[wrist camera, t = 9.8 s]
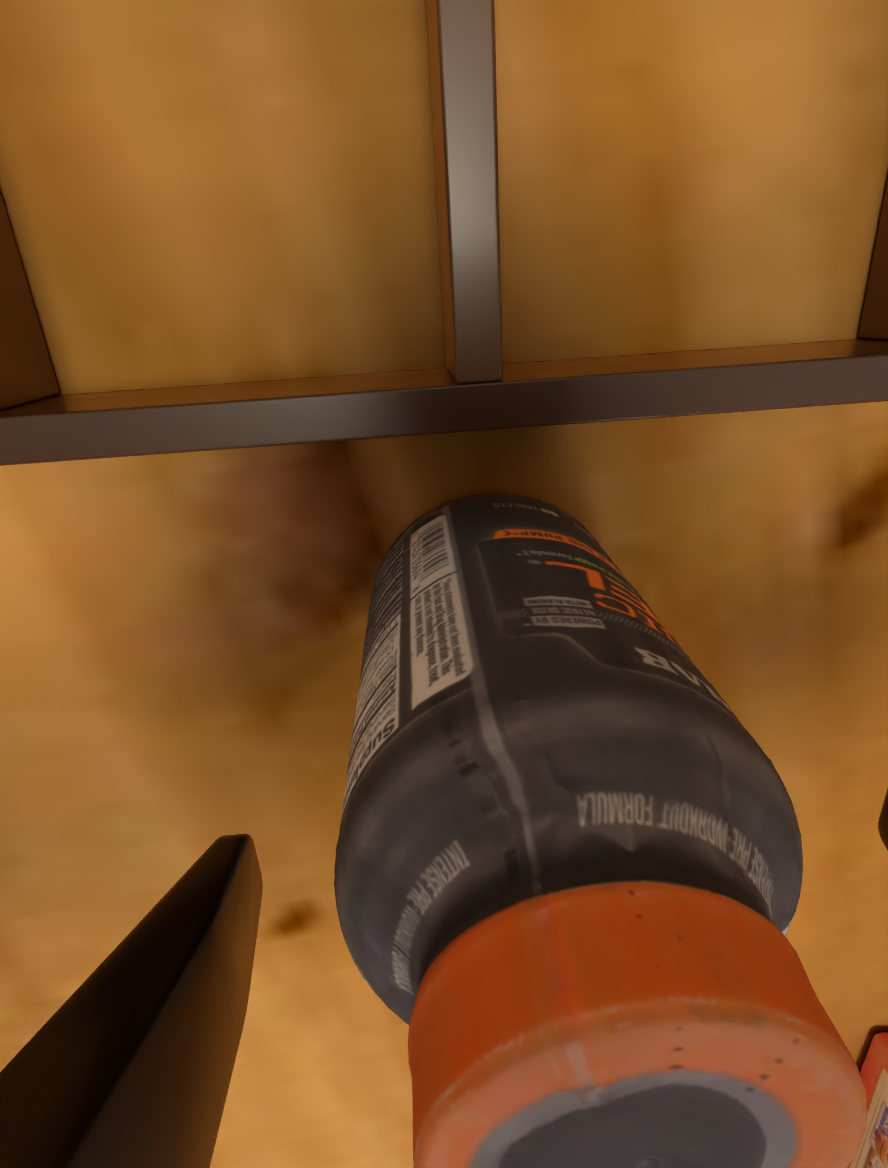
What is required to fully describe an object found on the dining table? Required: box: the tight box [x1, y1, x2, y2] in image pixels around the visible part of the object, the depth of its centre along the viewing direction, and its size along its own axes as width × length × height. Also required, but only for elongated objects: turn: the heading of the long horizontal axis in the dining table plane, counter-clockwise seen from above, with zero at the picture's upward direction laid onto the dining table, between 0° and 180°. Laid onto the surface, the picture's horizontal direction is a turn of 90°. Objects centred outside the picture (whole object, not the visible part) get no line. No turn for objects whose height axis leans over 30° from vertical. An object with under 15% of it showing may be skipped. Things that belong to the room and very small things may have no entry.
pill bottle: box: [334, 494, 867, 1168], centre depth 11 cm, size 6×6×11 cm
